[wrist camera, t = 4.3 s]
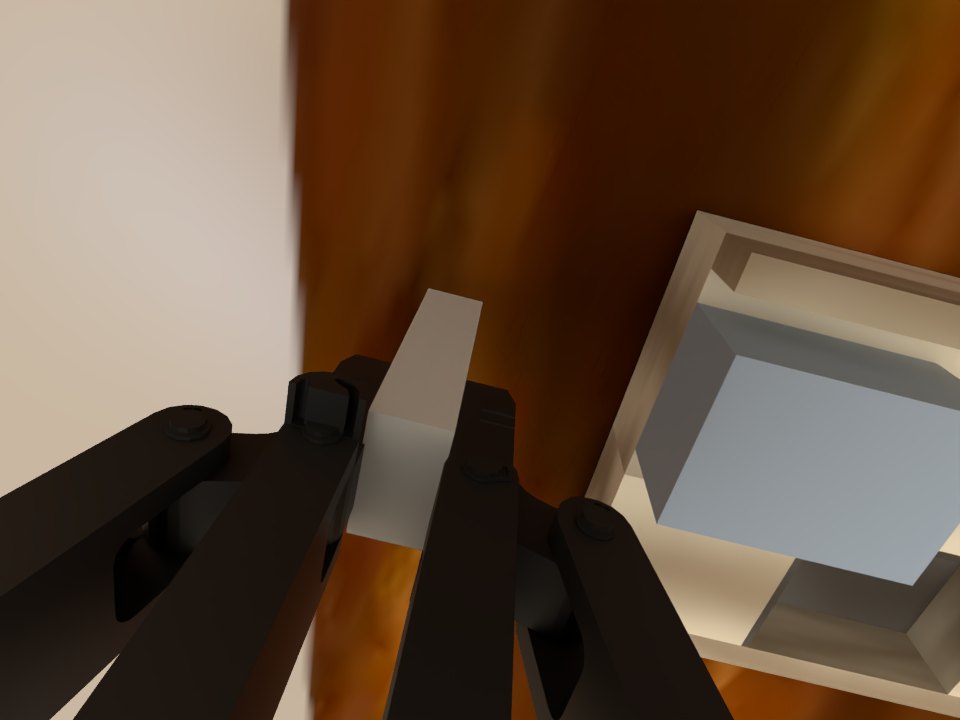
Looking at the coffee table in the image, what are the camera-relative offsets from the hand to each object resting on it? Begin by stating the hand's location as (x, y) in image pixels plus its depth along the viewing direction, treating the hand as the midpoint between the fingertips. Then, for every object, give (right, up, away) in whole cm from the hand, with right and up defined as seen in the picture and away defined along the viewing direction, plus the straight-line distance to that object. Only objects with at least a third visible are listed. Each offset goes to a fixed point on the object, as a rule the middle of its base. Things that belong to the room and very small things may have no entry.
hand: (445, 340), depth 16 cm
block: (+10, -2, +1) cm, 10 cm away
